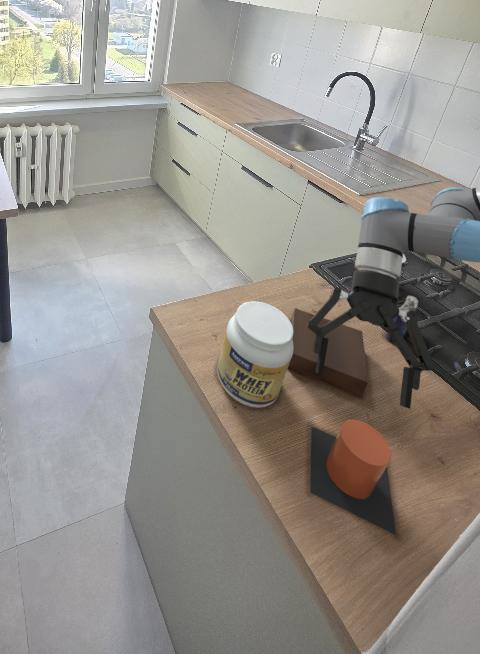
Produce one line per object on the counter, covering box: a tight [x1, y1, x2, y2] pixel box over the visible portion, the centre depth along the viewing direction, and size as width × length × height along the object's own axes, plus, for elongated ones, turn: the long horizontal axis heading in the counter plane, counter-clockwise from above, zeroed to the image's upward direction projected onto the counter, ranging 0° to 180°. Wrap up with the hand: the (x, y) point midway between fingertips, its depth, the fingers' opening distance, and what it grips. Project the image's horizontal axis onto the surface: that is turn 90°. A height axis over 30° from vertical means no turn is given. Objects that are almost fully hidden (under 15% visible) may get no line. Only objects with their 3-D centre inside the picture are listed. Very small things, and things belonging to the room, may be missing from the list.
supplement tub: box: [217, 300, 294, 409], centre depth 82 cm, size 12×12×17 cm
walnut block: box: [287, 307, 369, 398], centre depth 91 cm, size 14×14×5 cm
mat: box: [309, 425, 397, 536], centre depth 70 cm, size 12×12×1 cm
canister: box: [326, 419, 392, 499], centre depth 68 cm, size 7×7×9 cm
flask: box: [385, 295, 419, 345], centre depth 96 cm, size 9×3×11 cm, turn 130°
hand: (360, 390), depth 75 cm, fingers open, 13 cm apart
